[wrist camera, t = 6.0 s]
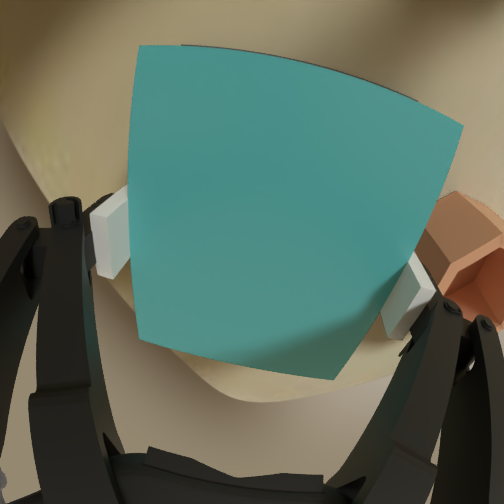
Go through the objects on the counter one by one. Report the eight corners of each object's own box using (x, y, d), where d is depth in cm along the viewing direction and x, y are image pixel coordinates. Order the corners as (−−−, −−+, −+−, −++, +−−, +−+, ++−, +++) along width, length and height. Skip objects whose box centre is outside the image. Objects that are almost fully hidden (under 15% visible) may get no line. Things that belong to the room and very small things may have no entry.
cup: (378, 286, 21) (396, 345, 16) (427, 178, 16) (473, 219, 11) (458, 303, 21) (483, 353, 16) (507, 216, 16) (549, 257, 11)
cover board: (151, 314, 16) (139, 339, 15) (163, 49, 9) (139, 45, 7) (331, 353, 16) (333, 380, 15) (438, 116, 9) (463, 125, 7)
